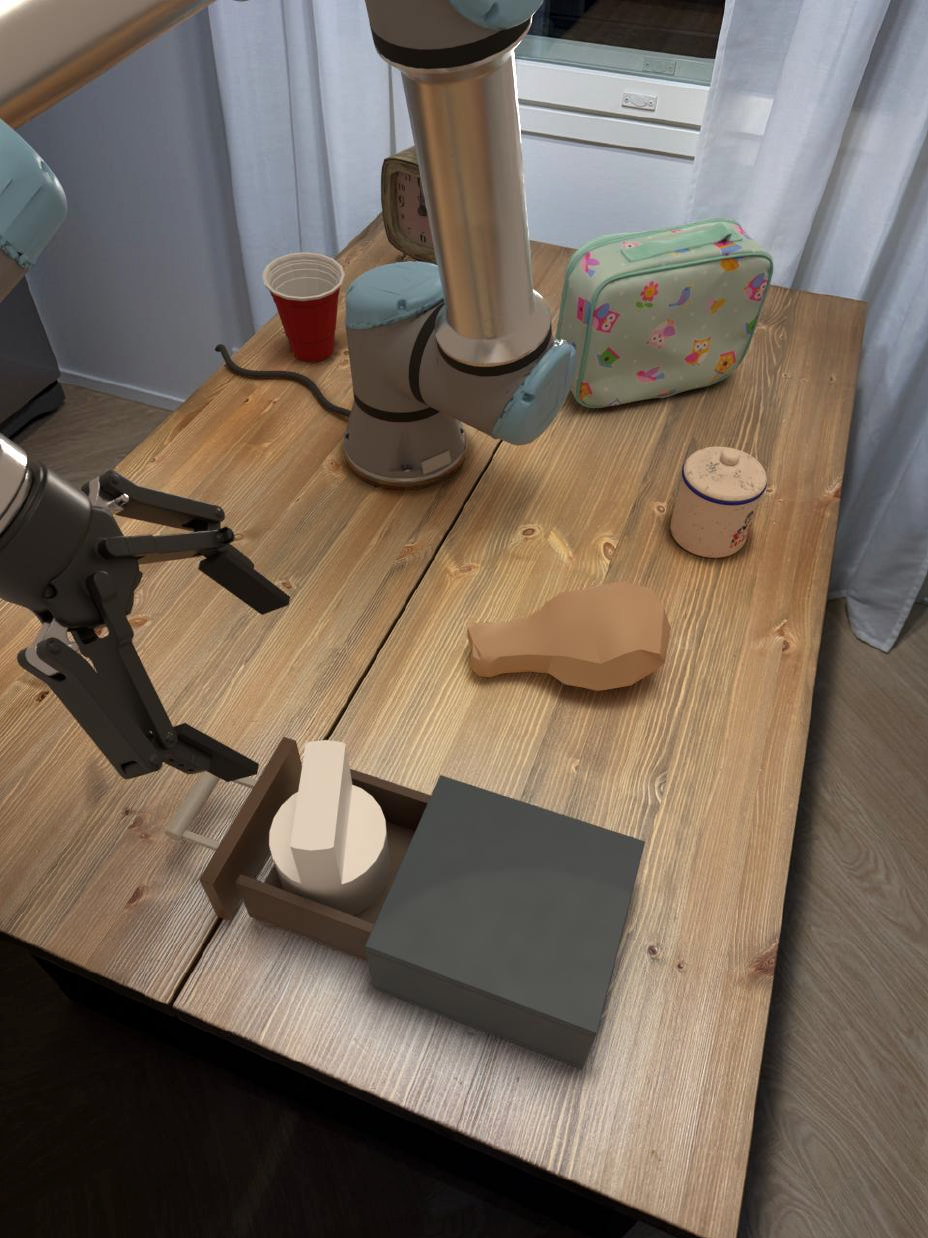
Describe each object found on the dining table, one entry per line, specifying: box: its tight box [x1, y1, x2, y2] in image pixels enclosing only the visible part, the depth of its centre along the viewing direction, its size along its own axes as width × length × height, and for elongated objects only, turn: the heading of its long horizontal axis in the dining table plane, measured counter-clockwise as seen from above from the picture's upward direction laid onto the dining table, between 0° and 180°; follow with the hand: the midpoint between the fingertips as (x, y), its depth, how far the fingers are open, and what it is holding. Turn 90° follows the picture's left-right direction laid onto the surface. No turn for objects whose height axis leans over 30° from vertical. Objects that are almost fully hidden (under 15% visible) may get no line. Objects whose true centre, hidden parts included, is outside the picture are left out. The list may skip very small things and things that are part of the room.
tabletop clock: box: [380, 145, 437, 265], centre depth 133 cm, size 14×9×25 cm, turn 50°
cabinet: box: [365, 774, 646, 1070], centre depth 68 cm, size 17×15×9 cm
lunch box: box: [554, 217, 774, 409], centre depth 114 cm, size 27×10×21 cm, turn 111°
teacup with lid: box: [670, 446, 768, 559], centre depth 99 cm, size 12×9×12 cm
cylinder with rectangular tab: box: [269, 739, 390, 915], centre depth 69 cm, size 9×9×12 cm
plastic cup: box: [261, 251, 346, 363], centre depth 122 cm, size 11×11×12 cm
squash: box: [466, 581, 671, 692], centre depth 87 cm, size 11×20×9 cm, turn 94°
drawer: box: [163, 736, 432, 963], centre depth 72 cm, size 21×14×7 cm, turn 70°
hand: (261, 684), depth 63 cm, fingers open, 13 cm apart
